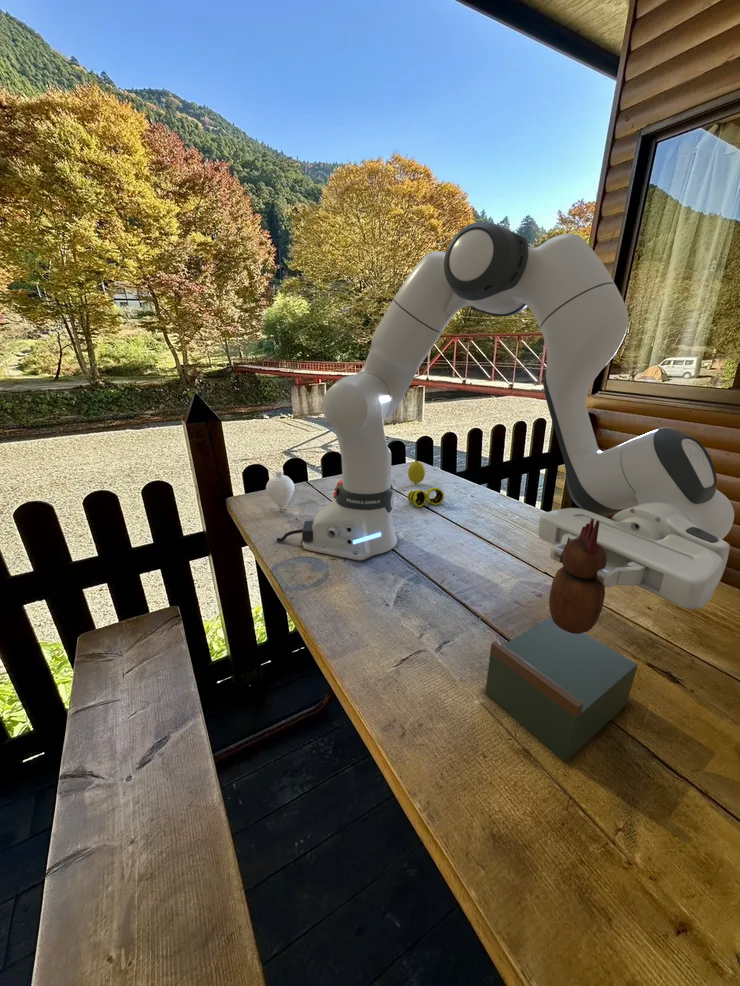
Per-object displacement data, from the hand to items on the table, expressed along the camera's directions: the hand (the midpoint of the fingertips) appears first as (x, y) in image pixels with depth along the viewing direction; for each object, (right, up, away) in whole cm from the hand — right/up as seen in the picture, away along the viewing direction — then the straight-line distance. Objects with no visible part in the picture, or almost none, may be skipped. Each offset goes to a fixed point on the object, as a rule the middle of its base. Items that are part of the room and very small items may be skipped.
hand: (577, 566), depth 48 cm
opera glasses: (-8, +5, +72) cm, 73 cm away
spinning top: (-49, +3, +68) cm, 83 cm away
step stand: (+1, -19, +8) cm, 21 cm away
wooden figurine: (+1, -8, +4) cm, 9 cm away
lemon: (-9, +11, +88) cm, 89 cm away
